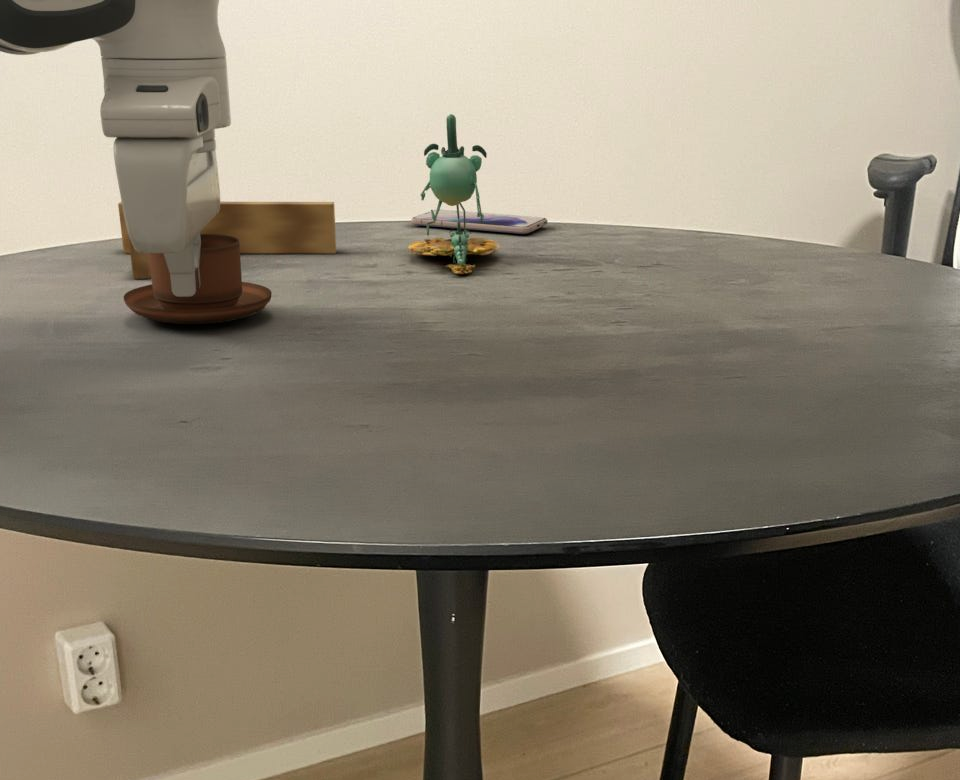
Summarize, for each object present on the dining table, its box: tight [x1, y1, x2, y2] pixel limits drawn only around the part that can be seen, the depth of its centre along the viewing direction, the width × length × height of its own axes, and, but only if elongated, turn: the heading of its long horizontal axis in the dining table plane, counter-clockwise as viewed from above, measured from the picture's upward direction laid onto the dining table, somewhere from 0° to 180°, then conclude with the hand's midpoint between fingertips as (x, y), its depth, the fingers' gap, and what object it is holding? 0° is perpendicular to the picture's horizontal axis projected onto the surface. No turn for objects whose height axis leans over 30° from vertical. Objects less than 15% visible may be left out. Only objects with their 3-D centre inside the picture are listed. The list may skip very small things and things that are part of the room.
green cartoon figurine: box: [407, 113, 501, 275], centre depth 127 cm, size 10×18×15 cm, turn 171°
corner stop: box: [117, 201, 337, 280], centre depth 124 cm, size 22×15×5 cm
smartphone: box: [411, 209, 548, 235], centre depth 148 cm, size 7×1×15 cm
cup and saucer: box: [123, 234, 272, 325], centre depth 103 cm, size 12×12×6 cm
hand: (187, 293), depth 98 cm, fingers closed
